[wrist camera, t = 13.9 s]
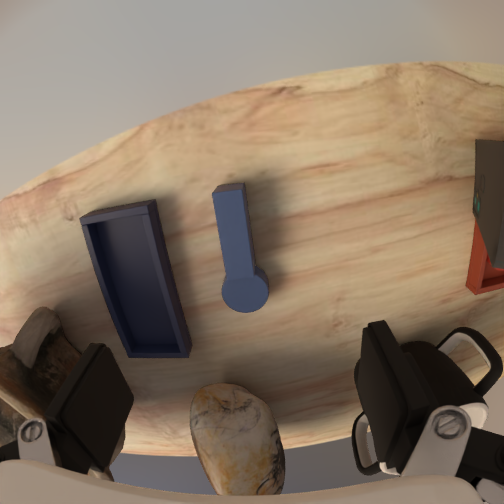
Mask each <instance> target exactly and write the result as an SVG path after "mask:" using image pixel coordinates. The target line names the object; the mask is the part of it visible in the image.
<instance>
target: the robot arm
mask: <svg viewBox="0 0 504 504" xmlns="http://www.w3.org/2000/svg"><path fill="white" fill-rule="evenodd" d="M358 389H359V393H360V396H361V399H362V402H363V406H364V409H365V412H366V415H367V419H368V422H369V425H370V429H371V432H372V436H373V439H374V443H375V446H376V450H377V453H378V457H379V460H380V462H381V463H384V462H385V463H386V467H387V469H391V468H396V471H397V473H399V474H400V476H399V478H392V479H386V480H382V481H375V482H370V483H364V484H359V485H353V486H348V487H342V488H335V489H329V490H322V491H312V492H304V493H293V494H281V495H260V496H223V495H202V494H188V493H179V492H170V491H162V490H155V489H149V488H142V487H137V486H131V485H126V484H121V483H117V482H112V481H108V480H104V479H100V478H96V477H92V476H90V475H89V472H88V471H89V469H91V470H93V471H97V472H101V473H103V472H104V470H105V467H107V466H108V465H109V464H110V461H111V458H112V456H113V453H114V450H115V448H116V445H117V443H118V440H119V437H120V435H121V432H122V430H123V427H124V425H125V422H126V420H127V417H128V415H129V412H130V410H131V407H132V405H133V402H134V397H133V394H132V392H131V390H130V388H129V386H128V384H127V382H126V380H125V378H124V376H123V375H122V373H121V371H120V369H119V366H118V364H117V362H116V360H115V358H114V356H113V354H112V352H111V350H110V348H108V347H107V346H106V345H105V344H103V343H91V344H90V345H89V346H88V347H87V349H86V350H85V352H84V353H83V355H82V356H81V357H80V359H79V360H78V362H77V363H76V365H75V366H74V368H73V369H72V371H71V372H70V374H69V375H68V377H67V378H66V380H65V381H64V383H63V385H62V386H61V388H60V389H59V391H58V392H57V394H56V396H55V397H54V399H53V400H52V402H51V404H50V405H49V407H48V408H47V410H46V412H45V413H44V416H45V417H46V418H47V420H46V422H45V421H44V420H43V419H41V418H36V417H34V418H30V419H28V420H26V421H25V422H24V423H23V424H22V425H21V426H20V427H19V430H18V434H17V438H18V439H17V440H15V441H13V442H10V443H8V444H6V445H3V446H1V447H0V504H484V503H483V502H485V501H486V502H488V503H489V504H504V436H502V435H499V434H495V433H492V432H488V431H485V430H482V429H479V428H476V427H473V426H471V425H472V422H471V418H470V416H469V415H468V413H467V412H466V411H465V410H463V409H462V408H460V407H457V406H452V405H447V406H442V407H440V405H439V403H438V401H437V399H436V397H435V396H434V394H433V392H432V390H431V388H430V386H429V384H428V382H427V381H426V379H425V377H424V375H423V373H422V371H421V370H420V368H419V366H418V364H417V362H416V361H415V359H414V357H413V356H412V354H411V353H409V352H407V353H403V351H402V349H401V348H400V346H399V344H398V342H397V341H396V339H395V337H394V335H393V333H392V332H391V330H390V328H389V326H388V325H387V323H386V322H385V321H384V320H382V321H376V322H370V323H368V327H366V328H363V334H362V346H361V357H360V366H359V375H358Z"/></svg>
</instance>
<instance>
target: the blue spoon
mask: <svg viewBox="0 0 504 504" xmlns="http://www.w3.org/2000/svg"><path fill="white" fill-rule="evenodd" d="M212 197H213V203H214V209H215V215H216V221H217V226H218V232H219V238H220V244H221V249H222V255H223V261H224V266H225V272H226V275H225V278H224V282H223V286H222V297H223V299H224V301H225V303H226V304H227V305H228V306H229V307H230V308H231V309H233V310H235V311H238V312H242V313H249V312H254V311H256V310H258V309H260V308H261V307H262V306H263V305H264V304H265V303H266V301H267V299H268V295H269V288H268V278H267V276H266V274H265V273H264V271H263V270H262V269H260V268H259V267H257V266H255V255H254V248H253V241H252V233H251V226H250V219H249V211H248V204H247V197H246V189H245V183H236V184H228V185H221V186H218V187H217V188H216V189H215V190H214V192H213V193H212Z"/></svg>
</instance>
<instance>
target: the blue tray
mask: <svg viewBox="0 0 504 504" xmlns="http://www.w3.org/2000/svg"><path fill="white" fill-rule="evenodd" d="M80 223H81V225H82V230H83V233H84V237H85V240H86V244H87V247H88V251H89V254H90V257H91V260H92V264H93V267H94V270H95V273H96V276H97V279H98V282H99V285H100V287H101V290H102V293H103V296H104V299H105V301H106V304H107V307H108V309H109V312H110V314H111V317H112V320H113V322H114V325H115V327H116V329H117V332H118V334H119V337H120V339H121V341H122V344H123V346H124V348H125V350H126V352H127V355H128V357H129V358H189V355H190V352H191V348H192V342H191V338H190V335H189V332H188V328H187V325H186V322H185V318H184V315H183V311H182V307H181V304H180V300H179V296H178V293H177V289H176V285H175V281H174V278H173V274H172V270H171V266H170V262H169V258H168V253H167V249H166V245H165V241H164V236H163V232H162V227H161V223H160V218H159V214H158V209H157V204H156V200H155V199H154V200H149V201H143V202H137V203H132V204H127V205H122V206H116V207H111V208H106V209H101V210H97V211H92V212H89V213H88V214H86V215H84V216H82V217H81V218H80Z"/></svg>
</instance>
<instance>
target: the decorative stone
mask: <svg viewBox="0 0 504 504" xmlns="http://www.w3.org/2000/svg"><path fill="white" fill-rule="evenodd" d="M190 429H191V436H192V440H193V443H194V446H195V449H196V452H197V455H198V457H199V460H200V462H201V465H202V467H203V469H204V472H205V473H206V476H207V478H208V480H209V482H210V483H211V485H212V487H213V489H214V490H215V492H216V493H217V495H223V496H260V495H280V494H281V491H282V489H283V485H284V479H285V456H284V450H283V446H282V443H281V439H280V434H279V430H278V427H277V424H276V421H275V418H274V415H273V413H272V411H271V409H270V408H269V406H268V405H267V404H266V403H265V402H264V401H262V400H261V399H260V398H258V397H256V396H254V395H252V394H251V393H250V392H249V391H248V390H246V389H245V388H244V387H241V386H239V385H235V384H227V383H216V384H211V385H207V386H205V387H202V388H201V389H200V390H198V391H197V392H196V394H195V395H194V398H193V401H192V405H191V410H190Z"/></svg>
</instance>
